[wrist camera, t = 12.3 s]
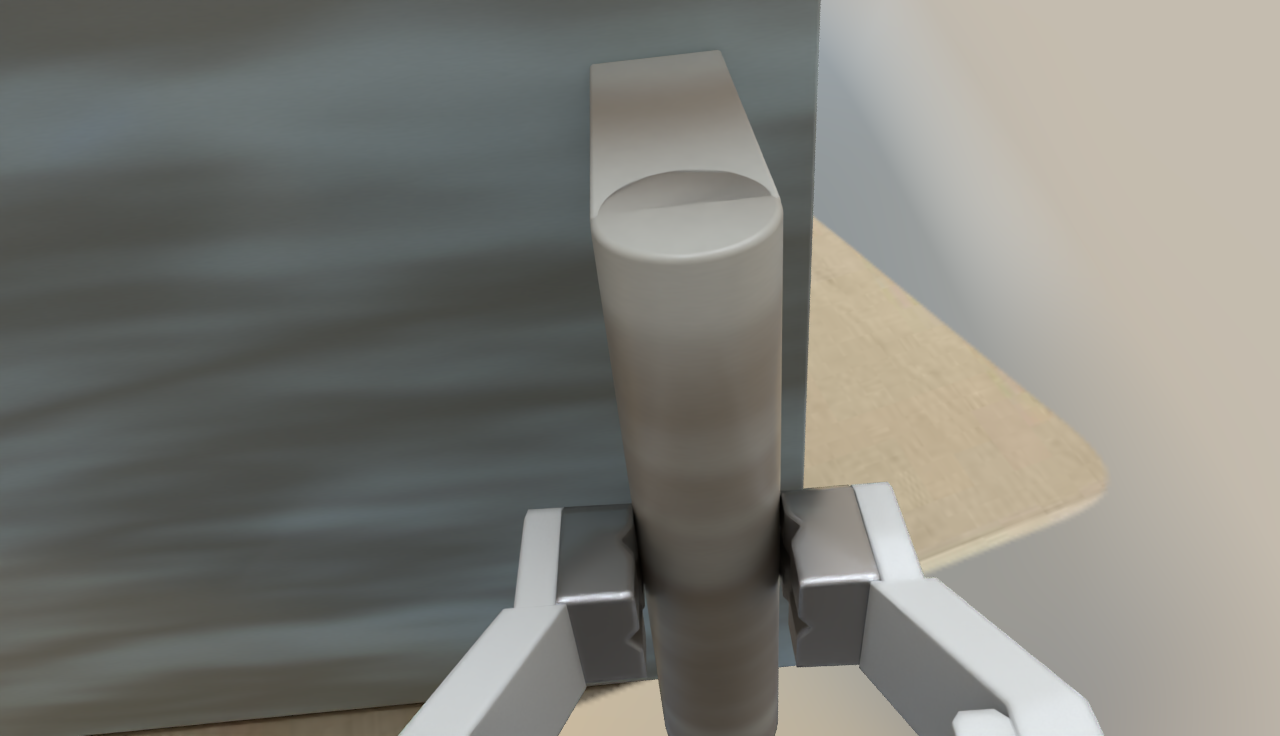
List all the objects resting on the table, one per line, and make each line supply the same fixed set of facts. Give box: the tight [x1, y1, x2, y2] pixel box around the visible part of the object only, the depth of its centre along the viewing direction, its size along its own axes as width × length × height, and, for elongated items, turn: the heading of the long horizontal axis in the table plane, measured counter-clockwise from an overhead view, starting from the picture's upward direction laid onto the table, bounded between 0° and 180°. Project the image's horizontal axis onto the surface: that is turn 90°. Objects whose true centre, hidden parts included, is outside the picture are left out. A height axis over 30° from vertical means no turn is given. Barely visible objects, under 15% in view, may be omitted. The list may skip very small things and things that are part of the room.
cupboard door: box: [0, 0, 821, 736], centre depth 14 cm, size 7×26×24 cm, turn 93°
